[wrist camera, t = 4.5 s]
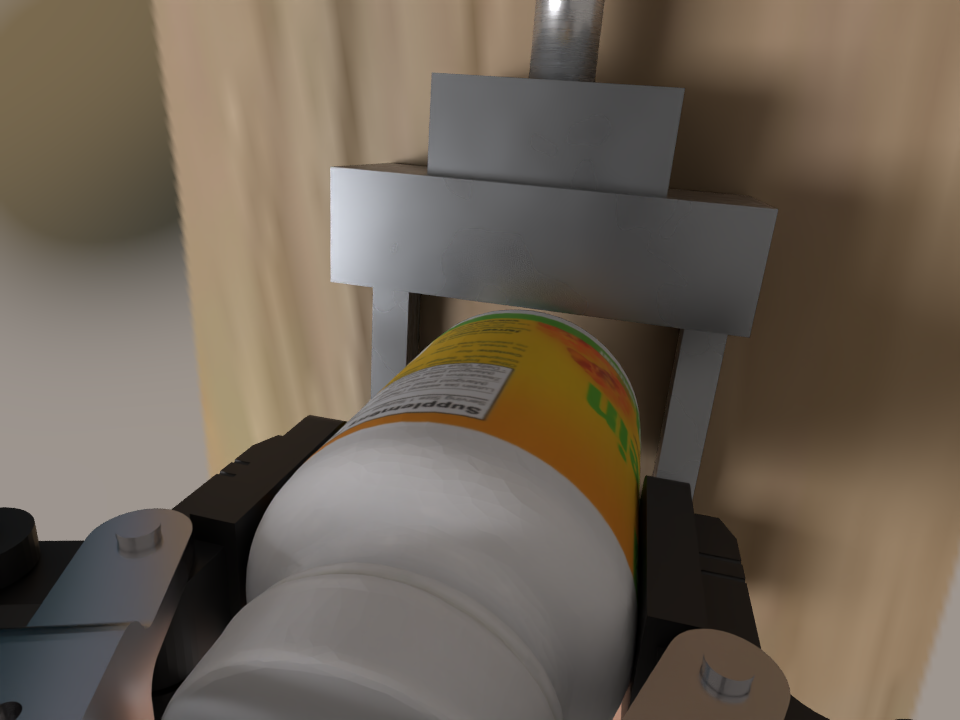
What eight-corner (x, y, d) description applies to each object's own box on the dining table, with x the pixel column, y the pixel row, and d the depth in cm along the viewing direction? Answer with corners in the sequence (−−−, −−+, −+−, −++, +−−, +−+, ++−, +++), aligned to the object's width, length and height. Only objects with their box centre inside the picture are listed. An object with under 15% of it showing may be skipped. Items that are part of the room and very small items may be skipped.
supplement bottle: (661, 507, 15) (687, 1071, 6) (445, 529, 16) (206, 997, 7) (614, 280, 13) (555, 563, 4) (383, 328, 15) (-2, 607, 6)
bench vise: (398, -132, 15) (329, -210, 12) (818, -134, 13) (877, -228, 10) (380, 520, 21) (331, 590, 17) (668, 581, 19) (673, 671, 16)
